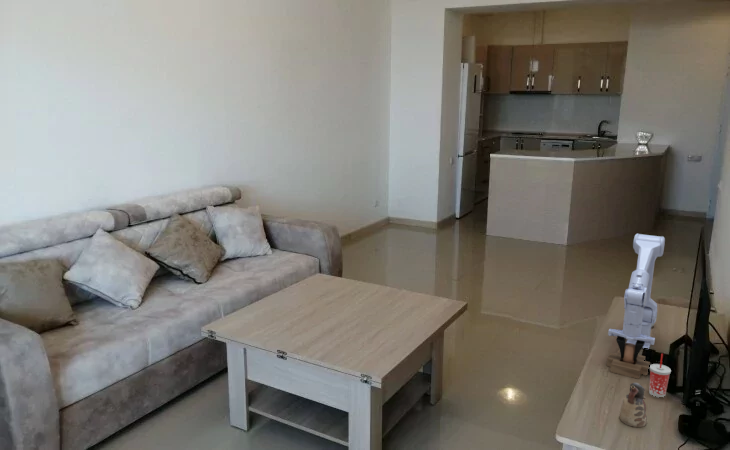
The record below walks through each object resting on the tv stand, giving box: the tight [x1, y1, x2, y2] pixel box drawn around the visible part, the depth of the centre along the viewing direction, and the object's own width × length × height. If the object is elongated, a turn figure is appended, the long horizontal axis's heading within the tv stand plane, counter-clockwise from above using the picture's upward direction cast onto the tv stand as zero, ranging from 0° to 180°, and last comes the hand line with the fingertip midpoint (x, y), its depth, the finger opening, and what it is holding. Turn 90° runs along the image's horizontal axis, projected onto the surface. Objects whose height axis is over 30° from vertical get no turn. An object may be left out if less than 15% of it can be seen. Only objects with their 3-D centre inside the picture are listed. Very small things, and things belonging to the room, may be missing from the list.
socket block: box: [606, 349, 651, 380], centre depth 198 cm, size 13×13×3 cm
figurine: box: [619, 382, 647, 428], centre depth 165 cm, size 7×7×12 cm
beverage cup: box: [648, 352, 672, 398], centre depth 179 cm, size 6×6×14 cm
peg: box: [623, 342, 635, 364], centre depth 197 cm, size 4×4×7 cm
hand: (628, 358), depth 197 cm, fingers closed on peg, 3 cm apart
